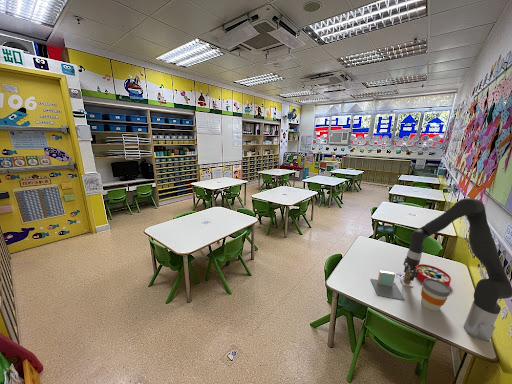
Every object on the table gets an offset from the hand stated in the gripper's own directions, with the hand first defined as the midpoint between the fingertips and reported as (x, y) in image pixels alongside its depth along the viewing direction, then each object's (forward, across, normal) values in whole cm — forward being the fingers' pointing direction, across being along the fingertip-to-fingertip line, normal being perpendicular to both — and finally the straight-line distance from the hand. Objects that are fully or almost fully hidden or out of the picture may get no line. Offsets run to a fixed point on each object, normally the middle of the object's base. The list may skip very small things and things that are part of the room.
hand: (408, 276), depth 145 cm
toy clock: (+7, +10, -20) cm, 24 cm away
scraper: (+6, 0, 0) cm, 6 cm away
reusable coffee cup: (+6, -18, -6) cm, 20 cm away
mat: (+6, -10, +16) cm, 20 cm away
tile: (0, -6, +16) cm, 17 cm away
